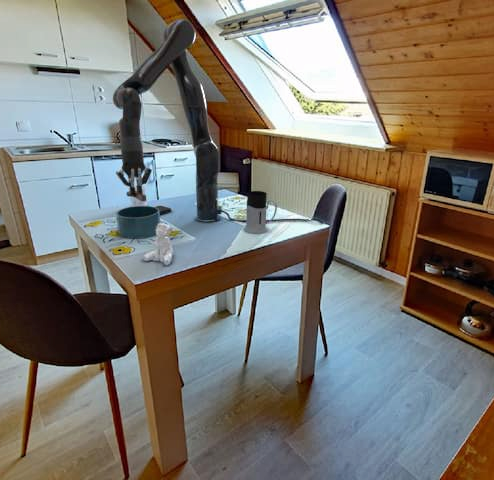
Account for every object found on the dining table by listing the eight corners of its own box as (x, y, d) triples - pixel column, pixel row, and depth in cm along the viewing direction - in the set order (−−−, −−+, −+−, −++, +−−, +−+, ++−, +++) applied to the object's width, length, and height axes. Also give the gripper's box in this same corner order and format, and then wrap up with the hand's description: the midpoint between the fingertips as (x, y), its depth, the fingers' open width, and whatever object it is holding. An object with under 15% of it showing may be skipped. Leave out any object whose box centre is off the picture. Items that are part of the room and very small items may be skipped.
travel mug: (254, 224, 145) (256, 189, 140) (281, 233, 136) (284, 195, 130) (240, 229, 139) (241, 193, 134) (267, 238, 130) (269, 200, 124)
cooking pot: (164, 224, 144) (163, 206, 141) (154, 238, 129) (153, 218, 126) (126, 223, 145) (124, 205, 142) (112, 237, 130) (109, 217, 127)
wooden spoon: (150, 200, 126) (149, 194, 125) (138, 202, 123) (138, 196, 122) (135, 193, 135) (135, 188, 135) (125, 194, 133) (124, 189, 132)
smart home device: (171, 208, 161) (136, 218, 146) (172, 211, 161) (136, 222, 147) (160, 204, 165) (124, 214, 151) (160, 208, 166) (125, 218, 151)
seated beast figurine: (142, 261, 111) (139, 225, 106) (157, 251, 118) (154, 217, 114) (168, 266, 108) (165, 229, 103) (181, 255, 115) (179, 221, 111)
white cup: (150, 206, 169) (148, 186, 165) (141, 210, 162) (139, 189, 159) (136, 204, 172) (134, 185, 168) (127, 209, 165) (125, 188, 161)
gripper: (116, 151, 117) (122, 201, 123) (154, 148, 124) (157, 195, 131) (109, 149, 122) (115, 196, 129) (145, 146, 130) (149, 191, 136)
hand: (136, 195), depth 130 cm, fingers closed on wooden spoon, 1 cm apart
